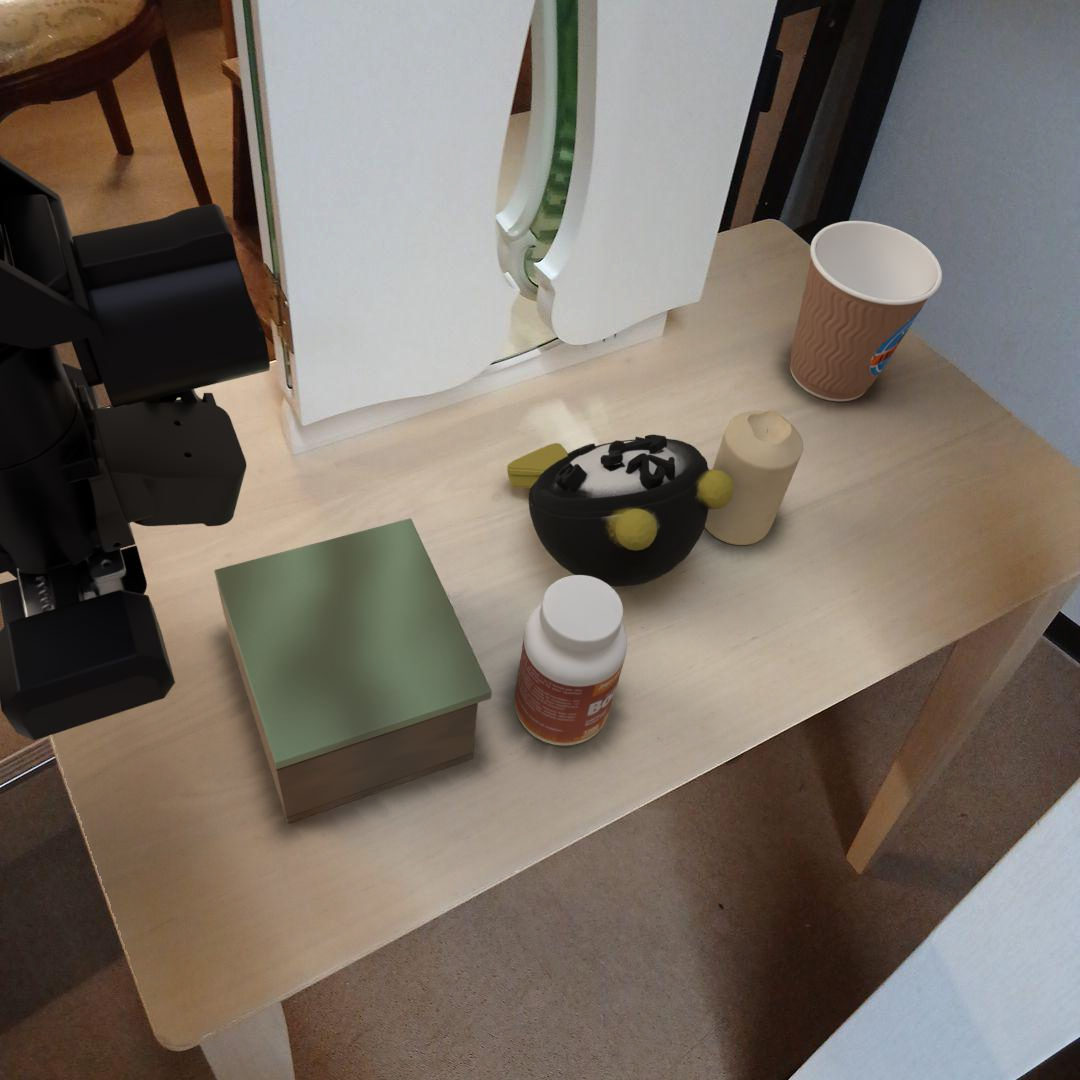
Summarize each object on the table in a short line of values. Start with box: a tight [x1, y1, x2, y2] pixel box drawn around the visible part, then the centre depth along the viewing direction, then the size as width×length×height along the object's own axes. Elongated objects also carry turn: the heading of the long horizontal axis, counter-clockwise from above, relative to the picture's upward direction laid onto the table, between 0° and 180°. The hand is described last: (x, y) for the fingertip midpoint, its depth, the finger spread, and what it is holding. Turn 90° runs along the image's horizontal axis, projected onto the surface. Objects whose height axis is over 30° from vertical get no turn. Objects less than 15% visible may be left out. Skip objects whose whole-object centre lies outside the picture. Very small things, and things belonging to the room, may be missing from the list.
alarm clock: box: [506, 434, 734, 588], centre depth 74 cm, size 12×15×15 cm
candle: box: [704, 409, 804, 546], centre depth 77 cm, size 6×6×10 cm
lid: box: [214, 517, 493, 769], centre depth 62 cm, size 12×14×1 cm
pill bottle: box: [514, 574, 628, 746], centre depth 65 cm, size 6×6×11 cm
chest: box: [215, 579, 479, 824], centre depth 65 cm, size 12×14×7 cm
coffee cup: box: [789, 220, 943, 402], centre depth 87 cm, size 10×10×12 cm
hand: (106, 635), depth 54 cm, fingers closed
